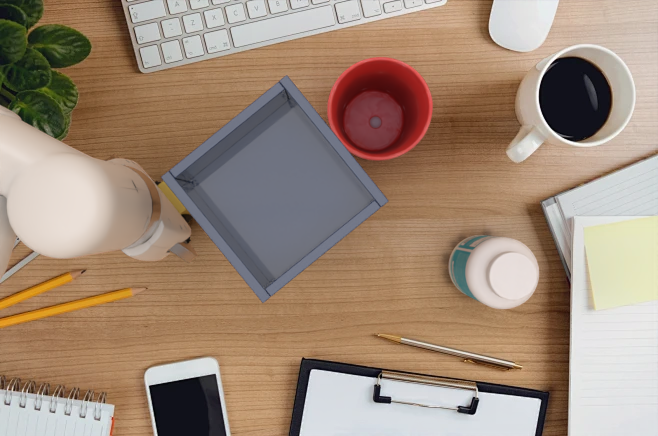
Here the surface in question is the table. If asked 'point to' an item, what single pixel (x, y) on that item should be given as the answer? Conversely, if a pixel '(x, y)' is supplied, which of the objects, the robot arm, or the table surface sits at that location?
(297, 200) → the open box
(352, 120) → the flower pot
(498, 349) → the table surface
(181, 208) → the sponge
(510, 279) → the pill bottle
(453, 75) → the table surface
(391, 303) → the table surface
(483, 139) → the table surface
